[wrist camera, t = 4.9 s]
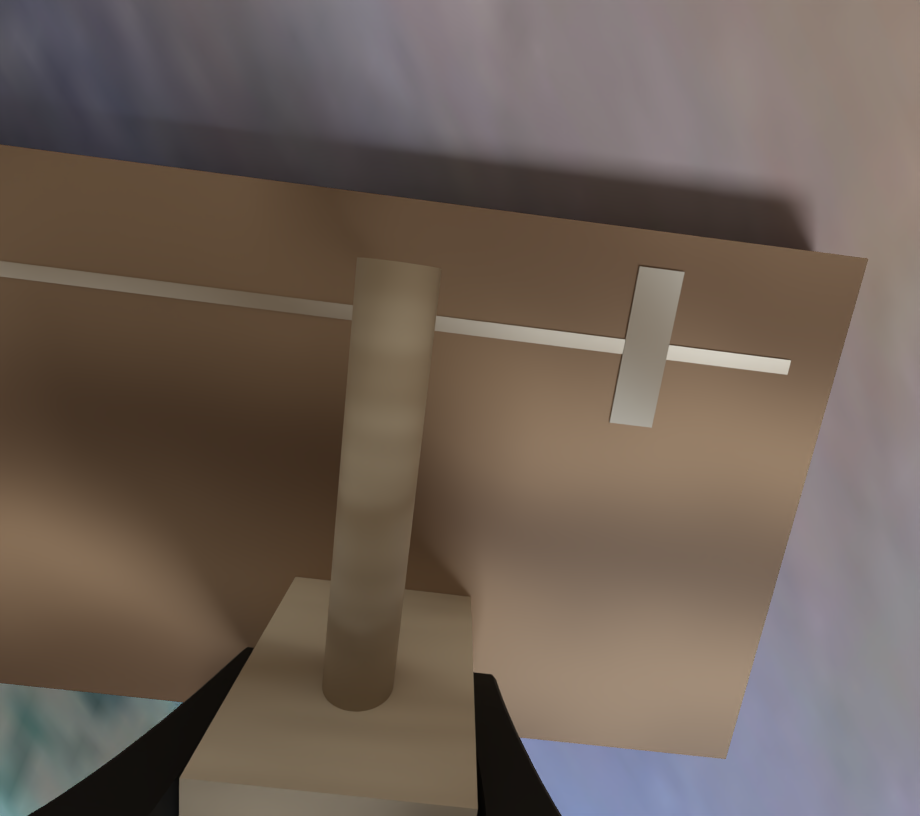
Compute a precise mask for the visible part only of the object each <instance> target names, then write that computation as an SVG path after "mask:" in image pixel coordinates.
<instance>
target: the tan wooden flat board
mask: <svg viewBox="0 0 920 816" xmlns="http://www.w3.org/2000/svg"><path fill="white" fill-rule="evenodd" d="M357 257H360V258H372V259H381V260H389V261H397V262H404V263H411V264H418V265H424V266H430V267H435V268H440V269H442V271H441V279H440V288H439V297H438V305H437V314H436V323H435V331H434V340H433V348H432V357H431V366H430V374H429V383H428V392H427V400H426V409H425V417H424V426H423V435H422V443H421V452H420V461H419V469H418V478H417V487H416V495H415V504H414V512H413V521H412V530H411V538H410V547H409V556H408V564H407V573H406V582H405V589H407V590H415V591H424V592H433V593H441V594H450V595H459V596H468V597H471V618H472V648H473V672H476V673H485V674H492V675H493V676H494V677H495V679H496V680H497V684H498V687H499V689H500V692H501V695H502V698H503V700H504V703H505V705H506V708H507V710H508V713H509V715H510V717H511V720H512V722H513V724H514V726H515V729H516V731H517V733H518V735H519V737H521V738H530V739H540V740H549V741H559V742H569V743H578V744H588V745H597V746H607V747H616V748H626V749H635V750H645V751H655V752H664V753H674V754H683V755H693V756H702V757H712V758H721V759H726V756H727V753H728V749H729V746H730V742H731V739H732V735H733V732H734V728H735V725H736V721H737V718H738V714H739V711H740V707H741V703H742V700H743V696H744V693H745V689H746V686H747V682H748V679H749V675H750V672H751V668H752V665H753V661H754V658H755V654H756V651H757V647H758V644H759V640H760V637H761V633H762V630H763V626H764V623H765V619H766V616H767V612H768V609H769V605H770V602H771V598H772V595H773V591H774V588H775V584H776V581H777V577H778V574H779V570H780V567H781V563H782V560H783V556H784V553H785V549H786V546H787V542H788V539H789V535H790V532H791V528H792V525H793V521H794V518H795V514H796V511H797V507H798V504H799V500H800V497H801V493H802V490H803V486H804V483H805V479H806V475H807V472H808V468H809V465H810V461H811V458H812V454H813V451H814V447H815V444H816V440H817V437H818V433H819V430H820V426H821V423H822V419H823V416H824V412H825V409H826V405H827V402H828V398H829V395H830V391H831V388H832V384H833V381H834V377H835V374H836V370H837V367H838V363H839V360H840V356H841V353H842V349H843V346H844V342H845V339H846V335H847V332H848V328H849V325H850V321H851V318H852V314H853V311H854V307H855V304H856V300H857V297H858V293H859V290H860V286H861V283H862V279H863V276H864V272H865V269H866V265H867V262H868V259H867V258H860V257H852V256H844V255H837V254H829V253H821V252H814V251H806V250H799V249H791V248H783V247H776V246H768V245H761V244H753V243H745V242H738V241H730V240H723V239H715V238H707V237H700V236H692V235H685V234H677V233H669V232H662V231H654V230H647V229H639V228H631V227H624V226H616V225H609V224H601V223H593V222H586V221H578V220H570V219H563V218H555V217H548V216H540V215H532V214H525V213H517V212H510V211H502V210H494V209H487V208H479V207H472V206H464V205H456V204H449V203H441V202H434V201H426V200H418V199H411V198H403V197H396V196H388V195H380V194H373V193H365V192H358V191H350V190H342V189H335V188H327V187H319V186H312V185H304V184H297V183H289V182H281V181H274V180H266V179H259V178H251V177H243V176H236V175H228V174H221V173H213V172H205V171H198V170H190V169H183V168H175V167H167V166H160V165H152V164H145V163H137V162H129V161H122V160H114V159H107V158H99V157H91V156H84V155H76V154H68V153H61V152H53V151H46V150H38V149H30V148H23V147H15V146H8V145H0V683H5V684H15V685H24V686H34V687H44V688H53V689H63V690H72V691H82V692H91V693H101V694H110V695H120V696H129V697H139V698H149V699H158V700H168V701H177V702H185V701H186V700H187V699H188V698H189V697H191V696H192V695H193V694H194V693H195V692H196V691H198V690H199V689H200V688H201V687H202V686H203V685H204V684H206V683H207V682H208V681H209V680H210V679H211V678H212V677H213V676H215V675H216V674H217V673H218V672H219V671H220V670H221V669H222V668H223V667H225V666H226V665H227V664H228V663H229V662H230V661H231V660H232V659H233V658H235V657H236V656H237V655H238V654H239V653H240V652H241V651H243V650H244V649H245V648H247V647H253V648H255V646H256V644H257V643H258V641H259V639H260V637H261V636H262V634H263V632H264V630H265V629H266V627H267V625H268V624H269V622H270V620H271V618H272V617H273V615H274V613H275V611H276V610H277V608H278V606H279V604H280V603H281V601H282V599H283V598H284V596H285V594H286V592H287V591H288V589H289V587H290V585H291V584H292V582H293V580H294V578H295V577H302V578H311V579H320V580H328V581H331V571H332V559H333V547H334V534H335V522H336V510H337V497H338V485H339V473H340V460H341V448H342V436H343V423H344V411H345V399H346V386H347V374H348V362H349V349H350V337H351V325H352V312H353V300H354V288H355V275H356V263H357Z"/></svg>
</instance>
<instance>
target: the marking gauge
mask: <svg viewBox="0 0 920 816" xmlns="http://www.w3.org/2000/svg"><path fill="white" fill-rule="evenodd" d="M441 271H442V269H440V268H435V267H430V266H424V265H418V264H411V263H404V262H397V261H389V260H381V259H372V258H360V257H357V263H356V275H355V288H354V300H353V312H352V325H351V337H350V349H349V362H348V374H347V386H346V399H345V411H344V423H343V436H342V448H341V460H340V473H339V485H338V497H337V510H336V522H335V534H334V547H333V559H332V571H331V581H328V580H320V579H311V578H302V577H295V578H294V580H293V582H292V584H291V585H290V587H289V589H288V591H287V592H286V594H285V596H284V598H283V599H282V601H281V603H280V604H279V606H278V608H277V610H276V611H275V613H274V615H273V617H272V618H271V620H270V622H269V624H268V625H267V627H266V629H265V630H264V632H263V634H262V636H261V637H260V639H259V641H258V643H257V644H256V646H255V648H254V650H253V651H252V653H251V655H250V656H249V658H248V660H247V662H246V663H245V665H244V667H243V669H242V670H241V672H240V674H239V676H238V677H237V679H236V681H235V682H234V684H233V686H232V688H231V689H230V691H229V693H228V695H227V696H226V698H225V700H224V702H223V703H222V705H221V707H220V708H219V710H218V712H217V714H216V715H215V717H214V719H213V721H212V722H211V724H210V726H209V728H208V729H207V731H206V733H205V734H204V736H203V738H202V740H201V741H200V743H199V745H198V747H197V748H196V750H195V752H194V754H193V755H192V757H191V759H190V760H189V762H188V764H187V766H186V767H185V769H184V771H183V773H182V774H181V776H180V778H179V816H477V811H478V798H477V768H476V738H475V708H474V678H473V648H472V618H471V597H468V596H459V595H450V594H441V593H433V592H424V591H415V590H407V589H405V582H406V573H407V564H408V556H409V547H410V538H411V530H412V521H413V512H414V504H415V495H416V487H417V478H418V469H419V461H420V452H421V443H422V435H423V426H424V417H425V409H426V400H427V392H428V383H429V374H430V366H431V357H432V348H433V340H434V331H435V323H436V314H437V305H438V297H439V288H440V279H441Z"/></svg>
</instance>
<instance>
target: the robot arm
mask: <svg viewBox="0 0 920 816" xmlns="http://www.w3.org/2000/svg"><path fill="white" fill-rule="evenodd" d="M253 650H254V648H253V647H247V648H245V649H244V650H243V651H241V652H240V653H239V654H238V655H237V656H236V657H235V658H233V659H232V660H231V661H230V662H229V663H228V664H227V665H226V666H225V667H223V668H222V669H221V670H220V671H219V672H218V673H217V674H216V675H215V676H213V677H212V678H211V679H210V680H209V681H208V682H207V683H206V684H204V685H203V686H202V687H201V688H200V689H199V690H198V691H196V692H195V693H194V694H193V695H192V696H191V697H189V698H188V699H187V700H186V701H185V702H183V703H182V704H181V705H180V706H179V707H178V708H176V709H175V710H174V711H173V712H172V713H170V714H169V715H168V716H167V717H166V718H164V719H163V720H162V721H161V722H160V723H158V724H157V725H156V726H155V727H153V728H152V729H151V730H149V731H148V732H147V733H146V734H144V735H143V736H142V737H140V738H139V739H138V740H137V741H135V742H134V743H133V744H131V745H130V746H129V747H127V748H126V749H125V750H124V751H122V752H121V753H120V754H118V755H117V756H116V757H114V758H113V759H112V760H110V761H109V762H108V763H106V764H105V765H103V766H102V767H101V768H99V769H98V770H96V771H95V772H94V773H92V774H91V775H89V776H88V777H87V778H85V779H84V780H82V781H81V782H79V783H78V784H76V785H75V786H73V787H72V788H70V789H69V790H67V791H66V792H64V793H63V794H62V795H60V796H58V797H57V798H55V799H54V800H52V801H51V802H49V803H48V804H46V805H44V806H43V807H41V808H40V809H38V810H36V811H35V812H33V813H31V814H30V815H28V816H179V778H180V776H181V774H182V773H183V771H184V769H185V767H186V766H187V764H188V762H189V760H190V759H191V757H192V755H193V754H194V752H195V750H196V748H197V747H198V745H199V743H200V741H201V740H202V738H203V736H204V734H205V733H206V731H207V729H208V728H209V726H210V724H211V722H212V721H213V719H214V717H215V715H216V714H217V712H218V710H219V708H220V707H221V705H222V703H223V702H224V700H225V698H226V696H227V695H228V693H229V691H230V689H231V688H232V686H233V684H234V682H235V681H236V679H237V677H238V676H239V674H240V672H241V670H242V669H243V667H244V665H245V663H246V662H247V660H248V658H249V656H250V655H251V653H252V651H253ZM473 678H474V708H475V738H476V768H477V798H478V811H477V816H561V814H560V813H559V811H558V809H557V807H556V806H555V804H554V802H553V801H552V799H551V797H550V795H549V793H548V792H547V790H546V788H545V786H544V785H543V783H542V781H541V779H540V777H539V775H538V773H537V772H536V770H535V768H534V766H533V764H532V762H531V760H530V758H529V756H528V754H527V752H526V750H525V748H524V746H523V744H522V742H521V740H520V737H519V735H518V733H517V731H516V729H515V726H514V724H513V722H512V720H511V717H510V715H509V713H508V710H507V708H506V705H505V703H504V700H503V698H502V695H501V692H500V689H499V687H498V684H497V680H496V679H495V677H494V676H493V675H492V674H485V673H476V672H473Z"/></svg>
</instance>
